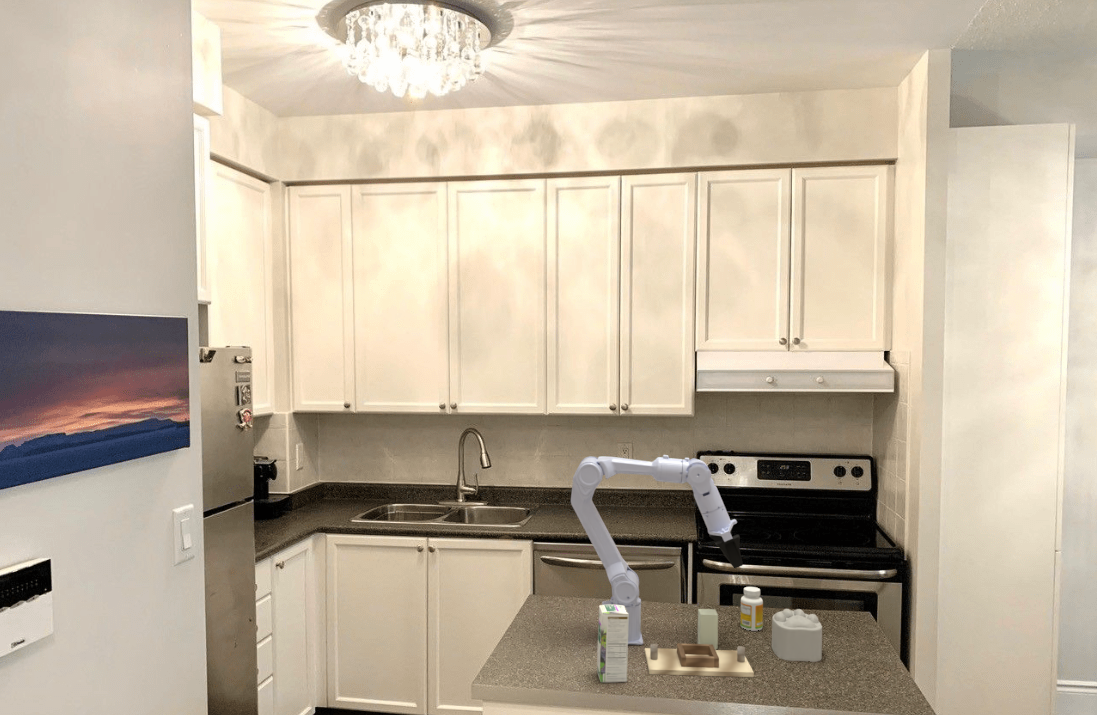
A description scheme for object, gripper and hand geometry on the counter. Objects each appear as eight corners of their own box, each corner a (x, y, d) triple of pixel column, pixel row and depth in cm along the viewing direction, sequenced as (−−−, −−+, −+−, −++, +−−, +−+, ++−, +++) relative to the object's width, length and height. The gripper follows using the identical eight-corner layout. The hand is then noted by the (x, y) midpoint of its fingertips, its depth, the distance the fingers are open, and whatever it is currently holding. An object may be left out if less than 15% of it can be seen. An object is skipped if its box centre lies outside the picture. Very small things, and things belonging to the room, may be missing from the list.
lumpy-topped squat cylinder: (778, 660, 176) (778, 621, 176) (766, 639, 189) (767, 603, 189) (825, 662, 175) (826, 623, 175) (811, 640, 188) (811, 604, 188)
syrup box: (596, 671, 168) (597, 604, 168) (623, 671, 169) (624, 603, 168) (600, 683, 162) (601, 613, 162) (628, 682, 163) (629, 612, 163)
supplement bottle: (760, 624, 198) (761, 586, 198) (764, 632, 193) (765, 592, 193) (738, 623, 199) (739, 585, 199) (741, 630, 194) (742, 591, 193)
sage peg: (700, 649, 182) (700, 614, 182) (697, 642, 186) (698, 608, 186) (717, 649, 181) (718, 615, 181) (714, 643, 185) (715, 609, 185)
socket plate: (649, 674, 167) (649, 655, 167) (644, 652, 179) (645, 634, 179) (753, 677, 166) (754, 658, 166) (742, 655, 178) (742, 637, 178)
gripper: (734, 507, 177) (757, 563, 177) (722, 497, 192) (744, 549, 191) (705, 519, 177) (728, 575, 177) (695, 508, 192) (717, 560, 191)
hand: (735, 562), depth 184 cm, fingers open, 7 cm apart
